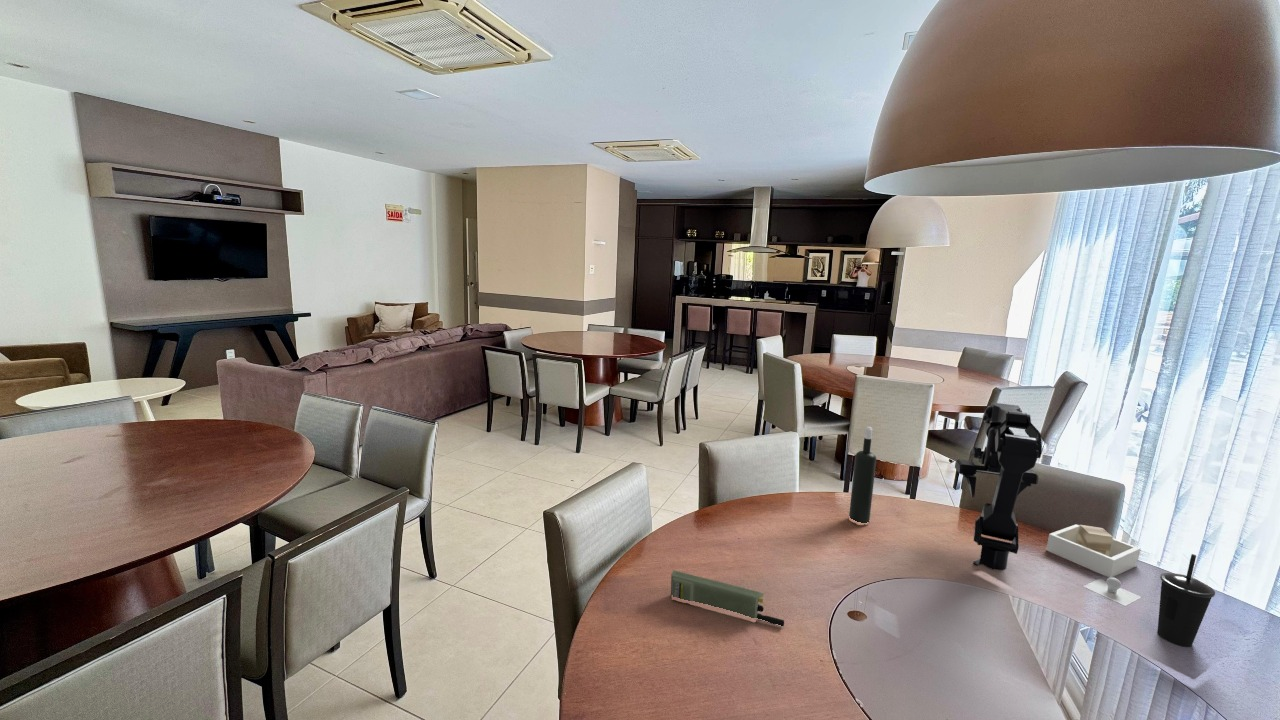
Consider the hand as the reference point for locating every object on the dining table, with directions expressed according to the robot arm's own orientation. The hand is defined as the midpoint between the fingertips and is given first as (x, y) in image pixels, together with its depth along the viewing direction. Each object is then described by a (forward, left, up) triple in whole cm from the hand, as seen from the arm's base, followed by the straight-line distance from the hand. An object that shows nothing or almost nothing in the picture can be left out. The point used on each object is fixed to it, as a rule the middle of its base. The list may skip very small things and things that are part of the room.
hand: (990, 499), depth 145 cm
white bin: (+14, -19, -12) cm, 26 cm away
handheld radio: (-89, +4, -12) cm, 89 cm away
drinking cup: (-8, -43, -12) cm, 45 cm away
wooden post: (+14, -19, -11) cm, 26 cm away
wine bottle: (-26, +22, -12) cm, 36 cm away
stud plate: (0, -29, -12) cm, 31 cm away
